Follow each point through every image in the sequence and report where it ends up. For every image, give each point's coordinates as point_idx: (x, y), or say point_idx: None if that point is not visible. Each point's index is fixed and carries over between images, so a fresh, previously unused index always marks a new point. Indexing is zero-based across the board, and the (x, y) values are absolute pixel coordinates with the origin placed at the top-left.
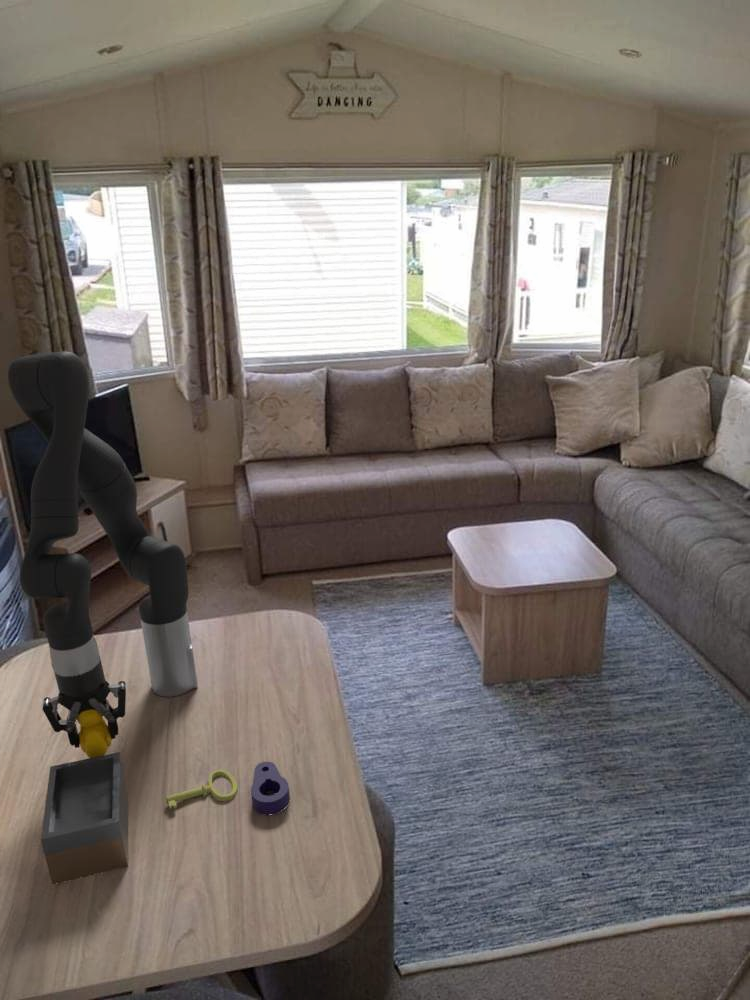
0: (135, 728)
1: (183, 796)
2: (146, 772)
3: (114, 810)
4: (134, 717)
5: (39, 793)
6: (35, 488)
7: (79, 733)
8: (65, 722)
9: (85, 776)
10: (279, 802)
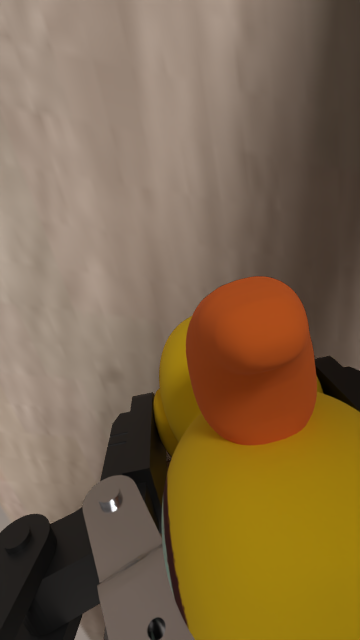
0: (303, 109)
1: None
2: (344, 362)
3: None
4: (295, 12)
5: (36, 412)
6: None
7: (170, 450)
8: (96, 582)
9: None
10: None
